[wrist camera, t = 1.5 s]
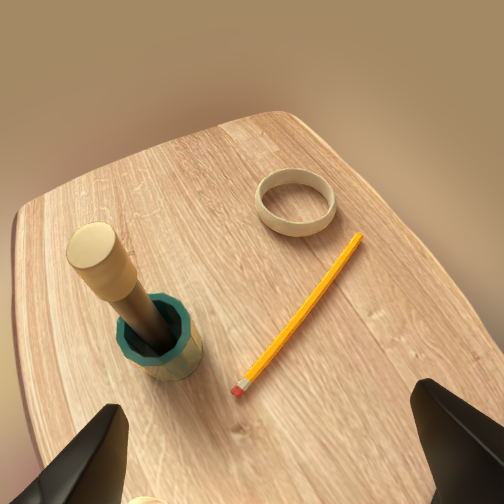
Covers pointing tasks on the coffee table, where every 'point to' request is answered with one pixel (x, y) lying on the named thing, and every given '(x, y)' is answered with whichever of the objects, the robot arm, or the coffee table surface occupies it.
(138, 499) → the mug
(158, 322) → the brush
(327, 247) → the coffee table surface
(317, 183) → the ring
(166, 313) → the pot
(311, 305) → the pencil
